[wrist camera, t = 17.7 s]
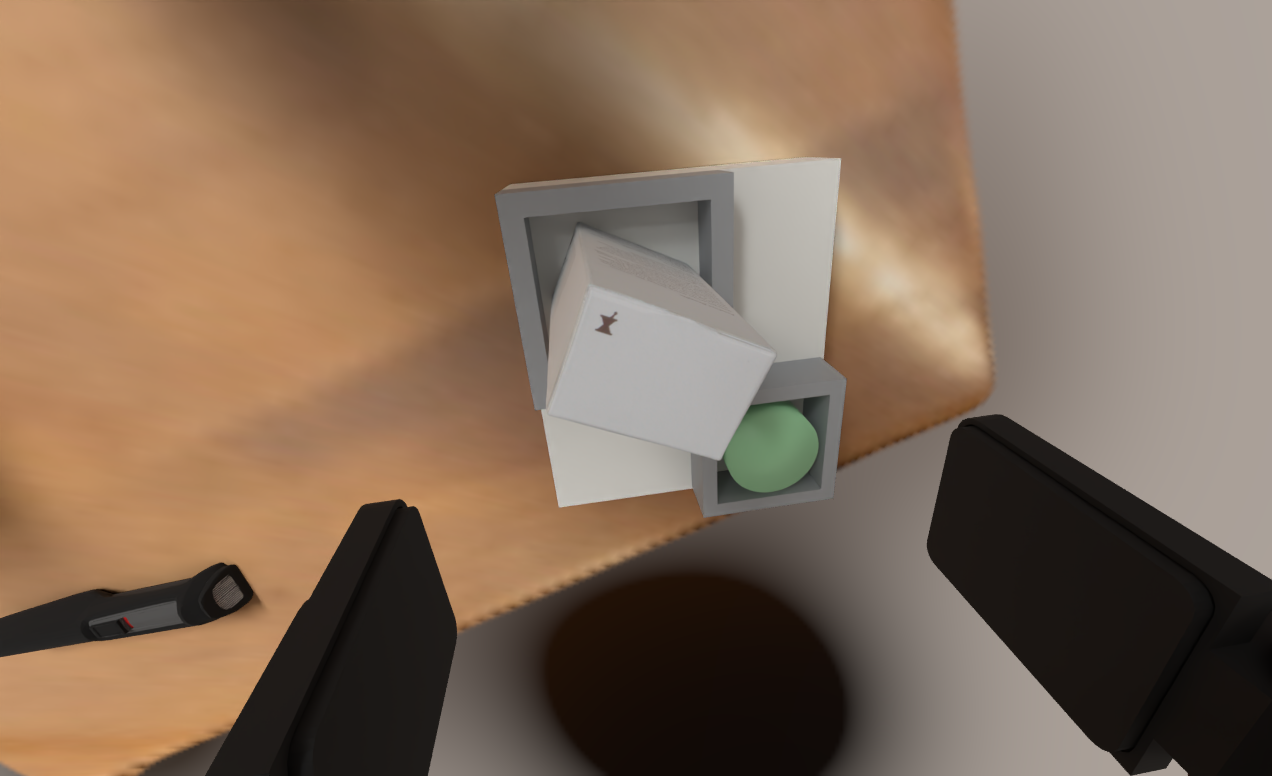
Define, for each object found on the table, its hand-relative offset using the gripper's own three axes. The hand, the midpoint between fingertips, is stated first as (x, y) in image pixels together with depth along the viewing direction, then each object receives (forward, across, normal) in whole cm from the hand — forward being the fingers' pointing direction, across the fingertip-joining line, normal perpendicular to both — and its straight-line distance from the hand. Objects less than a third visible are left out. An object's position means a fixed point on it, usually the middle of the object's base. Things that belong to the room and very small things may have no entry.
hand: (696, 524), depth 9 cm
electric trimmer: (+23, +34, +19) cm, 46 cm away
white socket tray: (+22, -4, +4) cm, 23 cm away
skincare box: (+18, 0, 0) cm, 19 cm away
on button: (+18, -7, +9) cm, 21 cm away
